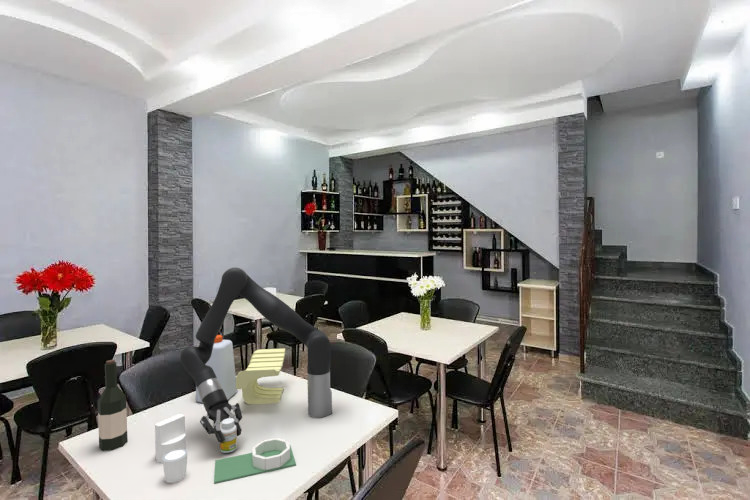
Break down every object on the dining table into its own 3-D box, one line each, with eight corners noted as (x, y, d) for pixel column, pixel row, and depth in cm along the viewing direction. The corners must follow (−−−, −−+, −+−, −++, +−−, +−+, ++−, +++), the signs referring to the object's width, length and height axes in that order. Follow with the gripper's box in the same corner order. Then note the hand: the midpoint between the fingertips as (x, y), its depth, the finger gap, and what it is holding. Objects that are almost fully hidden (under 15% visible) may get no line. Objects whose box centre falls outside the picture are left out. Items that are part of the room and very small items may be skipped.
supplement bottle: (223, 444, 132) (222, 417, 132) (239, 443, 133) (238, 416, 132) (218, 453, 127) (217, 425, 127) (234, 452, 127) (233, 424, 127)
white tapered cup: (177, 485, 112) (177, 462, 112) (157, 482, 113) (156, 459, 113) (193, 471, 119) (192, 449, 118) (174, 469, 120) (173, 447, 120)
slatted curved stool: (252, 385, 187) (252, 349, 187) (285, 384, 189) (285, 348, 188) (236, 413, 158) (235, 371, 157) (275, 411, 159) (274, 369, 158)
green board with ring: (290, 446, 132) (290, 434, 132) (296, 465, 121) (295, 453, 121) (215, 461, 124) (215, 449, 123) (214, 483, 112) (213, 470, 112)
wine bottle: (97, 453, 129) (93, 366, 128) (101, 442, 137) (98, 359, 136) (126, 447, 133) (123, 362, 132) (128, 436, 140) (125, 355, 139)
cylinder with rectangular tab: (165, 466, 122) (164, 429, 121) (150, 457, 127) (149, 422, 126) (191, 452, 129) (190, 417, 129) (176, 445, 134) (175, 411, 134)
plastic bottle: (240, 390, 181) (238, 332, 180) (224, 404, 166) (222, 341, 165) (210, 389, 183) (208, 332, 182) (191, 403, 168) (189, 340, 167)
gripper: (195, 396, 128) (214, 442, 121) (234, 382, 139) (254, 424, 132) (188, 407, 132) (207, 453, 125) (227, 393, 143) (246, 434, 136)
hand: (231, 438), depth 129 cm, fingers closed on supplement bottle, 5 cm apart
